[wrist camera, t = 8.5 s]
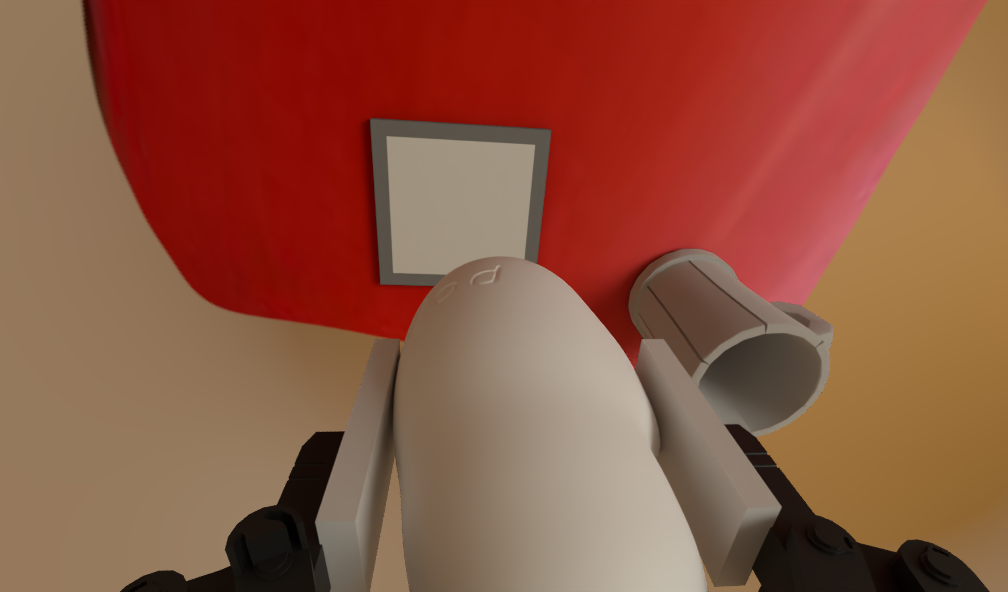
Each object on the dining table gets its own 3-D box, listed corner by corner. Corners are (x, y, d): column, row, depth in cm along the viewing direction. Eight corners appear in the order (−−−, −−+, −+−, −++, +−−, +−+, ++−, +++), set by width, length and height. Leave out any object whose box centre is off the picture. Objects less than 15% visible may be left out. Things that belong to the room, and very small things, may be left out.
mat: (371, 118, 31) (370, 119, 30) (549, 129, 32) (551, 130, 31) (381, 280, 36) (380, 284, 35) (533, 285, 37) (534, 288, 37)
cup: (711, 209, 35) (815, 274, 24) (768, 282, 38) (883, 368, 28) (604, 297, 38) (657, 390, 27) (667, 358, 41) (735, 462, 31)
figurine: (490, 438, 20) (517, 874, 9) (366, 318, 17) (193, 768, 6) (632, 353, 18) (862, 758, 8) (525, 204, 15) (664, 538, 5)
